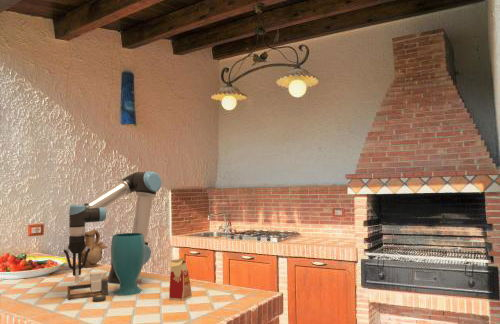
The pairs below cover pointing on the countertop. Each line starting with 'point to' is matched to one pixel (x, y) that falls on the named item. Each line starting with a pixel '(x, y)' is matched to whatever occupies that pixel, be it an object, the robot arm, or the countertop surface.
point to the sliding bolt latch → (88, 294)
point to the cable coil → (99, 298)
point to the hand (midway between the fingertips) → (76, 281)
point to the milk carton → (179, 281)
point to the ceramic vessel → (93, 248)
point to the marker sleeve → (95, 281)
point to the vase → (128, 261)
